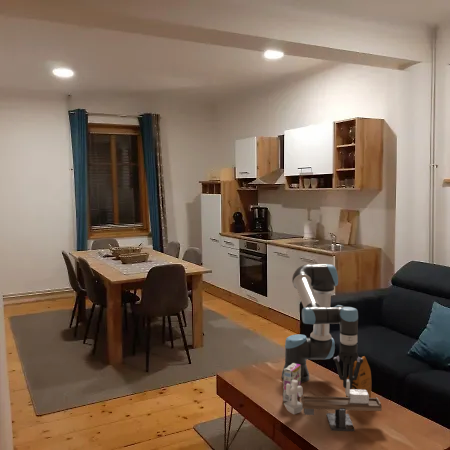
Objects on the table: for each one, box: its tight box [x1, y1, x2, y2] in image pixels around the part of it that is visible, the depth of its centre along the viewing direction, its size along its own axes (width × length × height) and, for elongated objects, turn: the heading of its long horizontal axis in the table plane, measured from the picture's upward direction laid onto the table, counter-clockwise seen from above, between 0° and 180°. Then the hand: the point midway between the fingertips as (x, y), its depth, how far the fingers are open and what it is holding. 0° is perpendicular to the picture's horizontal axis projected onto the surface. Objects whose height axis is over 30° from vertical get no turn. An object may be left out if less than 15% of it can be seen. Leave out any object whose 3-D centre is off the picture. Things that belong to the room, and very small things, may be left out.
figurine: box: [283, 380, 304, 415], centre depth 222 cm, size 7×9×15 cm
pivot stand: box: [325, 408, 356, 432], centre depth 211 cm, size 14×10×9 cm
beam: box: [300, 394, 383, 416], centre depth 210 cm, size 9×34×6 cm, turn 86°
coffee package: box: [345, 355, 373, 398], centre depth 230 cm, size 10×12×22 cm
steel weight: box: [348, 389, 369, 405], centre depth 210 cm, size 6×8×5 cm
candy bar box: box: [282, 363, 302, 403], centre depth 235 cm, size 11×5×16 cm, turn 147°
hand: (347, 394), depth 210 cm, fingers closed
